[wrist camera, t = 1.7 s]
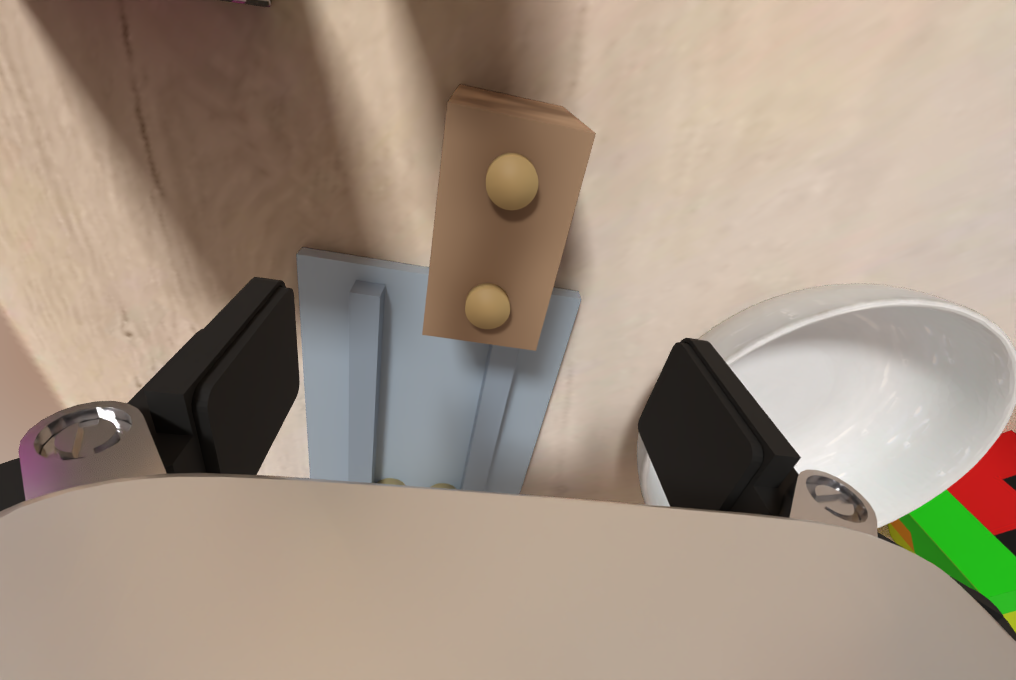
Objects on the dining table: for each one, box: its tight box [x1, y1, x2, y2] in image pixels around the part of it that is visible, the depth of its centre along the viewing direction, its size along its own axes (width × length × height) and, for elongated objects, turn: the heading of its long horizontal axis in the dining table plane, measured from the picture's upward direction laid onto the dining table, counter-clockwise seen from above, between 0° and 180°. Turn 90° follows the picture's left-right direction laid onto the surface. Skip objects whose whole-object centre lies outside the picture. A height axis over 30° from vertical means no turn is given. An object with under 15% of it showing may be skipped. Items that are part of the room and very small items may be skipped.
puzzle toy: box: [888, 430, 1016, 632], centre depth 35 cm, size 10×10×10 cm
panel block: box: [422, 84, 596, 351], centre depth 20 cm, size 5×9×9 cm, turn 169°
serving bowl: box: [637, 284, 1016, 528], centre depth 29 cm, size 21×21×7 cm
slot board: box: [296, 247, 581, 494], centre depth 29 cm, size 16×20×7 cm
